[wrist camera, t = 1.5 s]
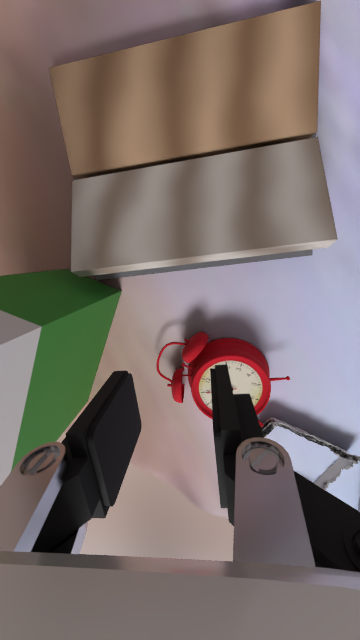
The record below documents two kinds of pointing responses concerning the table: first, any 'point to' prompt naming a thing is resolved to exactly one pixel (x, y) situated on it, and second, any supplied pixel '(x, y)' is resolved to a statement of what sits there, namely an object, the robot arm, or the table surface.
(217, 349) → the alarm clock
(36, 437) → the hardback book
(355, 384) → the table surface
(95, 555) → the robot arm
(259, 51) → the walnut plank
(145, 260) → the grey oak plank
